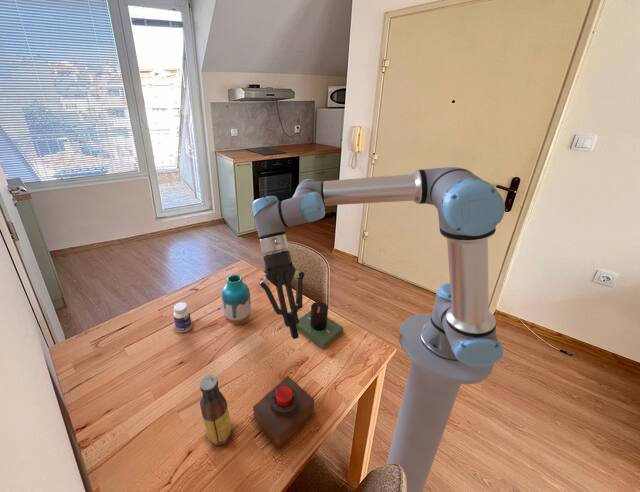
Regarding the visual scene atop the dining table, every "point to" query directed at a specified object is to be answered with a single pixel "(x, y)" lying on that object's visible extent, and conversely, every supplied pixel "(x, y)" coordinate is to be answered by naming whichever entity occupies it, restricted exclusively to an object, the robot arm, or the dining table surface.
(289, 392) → the light button
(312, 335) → the panel
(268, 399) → the switch box
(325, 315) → the dimmer knob
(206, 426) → the sauce bottle
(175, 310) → the pill bottle
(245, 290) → the vase
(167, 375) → the dining table surface
